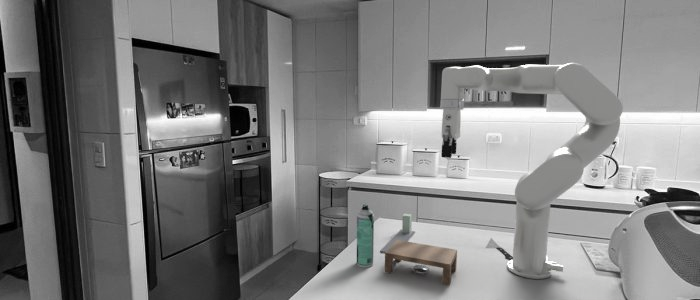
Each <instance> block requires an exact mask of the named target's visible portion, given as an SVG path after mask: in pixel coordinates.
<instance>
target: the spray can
mask: <svg viewBox="0 0 700 300" xmlns="http://www.w3.org/2000/svg"><path fill="white" fill-rule="evenodd" d="M356 213H357V214H356V265H357V266H358V267H360V268H371V267H373V266H374V238H375V237H374V231H375V229H374V226H375V225H374V224H375V221H374V220H375V217H374V216H375V215H374V212H373V211H372V210H370V208H369V205H368V204H362V207H361V208H360V210H358V211H357V212H356Z"/></svg>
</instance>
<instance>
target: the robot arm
mask: <svg viewBox="0 0 700 300" xmlns="http://www.w3.org/2000/svg"><path fill="white" fill-rule="evenodd" d="M465 89H467V90H473V91H474V90H475V91H478V92H479V91H480V92H482V91H484V92H508V93H509V92H510V93H516V94H531V95H532V94H537V95H538V94H540V95H559V96H560V95H561V96H563V97H564V98H565V99H567V101H568V102H569V103H570V104H571V105H573V107H575V108H576V110H578V111H579V112H580V113H581V114H582V115H583V116H584V117H585V122H584V124H583V127H581V128H580V130H579V131H578V132H576V133H575V134H574V135H573V136H571V138H569V139H568V140H567V141H566V142H565V143H563V145H561V146H560V147H559V148H557V149H556V150H555V151H554V150H553V152H550V154H549V155H548V156H547V158H546V159H545V160H544V162H542V163H541V164H540V165H539V166H538V167H537V168H535V169H534V170H533V171H530V172H527V173H525V174H523V175H522V176H521V177H520V178H519V179H518V181H517V183H516V185H515V189H514V196H515V201H516V205H515V217H514V218H515V220H514V235H513V236H514V237H513V249H512V251H513V252H512V257H513V260H508V261H507V263H506V264H507V265H506V267H507V269H508V271H510V272H512V273H513V274H514V275H517V276H519V277H522V278H527V279H533V280H534V279H535V280H542V279H547V278H549V277H551V275H552V271H556V272H561V273H563V272H564V265H561V264H559V263H558V262H557V261H556V262H555V261H550V260H548V255H547V254H548V240H549V227H550V215H551V214H550V213H551V204H552V202H554V201H555V200H557V199H558V198H559V197H560V196H562V195H563V194H564V193H566V192H567V191H569V190H570V189H571V188H572V187H573V186H575V185H576V184H577V183H578V182H579V181H580V179H581V178H582V176H583V174H584V170H585V168H587V166H589V165H590V164H591V163H592V162H594V161H595V160H596V159H597V158H598V157H600V156H601V154H603V153H604V152H605V151H606V150H607V149H608V148H609V147H610V146H612V144H613V143H614V141H616V138H617V137H618V134H619V132H620V125H621V116H622V114H623V110H624V107H623V103H622V101H621V99H620V98H619V97H618V96H617V95H616V94H615V93H614V92H613V91H611V90H610V89H609V88H608V87H607V86H606V85H605V84H604V83H603V82H601V81H600V80H599V79H598V78H597V77H596V76H595V75H594V74H593V73H592V72H591V71H590V70H589V69H588V68H587V67H585V66H584V65H583V64H580V63H577V62H570V63H566V64H555V65H554V64H552V65H551V64H547V65H546V64H525V65H524V64H523V65H519V66H516V67H508V68H507V67H506V68H505V67H504V68H497V67H496V68H493V67H492V68H489V67H488V68H487V67H483V66H481V65H471V66H470V65H469V66H465V67H461V66H449V67H445V68H443V70H442V73H441V89H440V91H441V92H440V105H439V109H440V110H442V121H441V138H442V143H441V152H440V153H441V155H440V156H441V158H445V159H446V158H447V159H451V158H452V157H453V156H452V155H456V154H457V145H458V144H457V140H458V139H460V137H461V122H462V121H461V120H462V119H461V118H462V117H461V115H462V114H461V110H464V107H465V106H464V103H465Z"/></svg>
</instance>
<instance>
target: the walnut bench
mask: <svg viewBox="0 0 700 300" xmlns="http://www.w3.org/2000/svg"><path fill="white" fill-rule="evenodd" d="M457 256H458V249H454V248H448V247H443V246H442V247H441V246H436V245H432V244H431V245H430V244H423V243H417V242H412V241H408V242H406V241H400V240H396V241H395V243H394V244H393V245H392V246H391V247H390V248H389V249H388V250H387V251H386V252H385V253H384V273H386V274H389V275H390V274H392V273H393V271H394V261H396V262H402V261H403V262H409V263H415V264H418V265H424V266H428V267H430V266H431V267H435V268H441V269H442V285H444V286H450V285H451V281H452V272H456V271H457V262H458V261H457V259H458V257H457Z"/></svg>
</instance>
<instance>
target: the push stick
mask: <svg viewBox="0 0 700 300" xmlns="http://www.w3.org/2000/svg"><path fill="white" fill-rule="evenodd" d="M412 218H413V215H412V214H411V213H403V214H402V225H401V226H402V228H401V229H399V231H398V232H397V233H396V234H395V235H394V236H393V237H391V239H389V241H388V242H387V243H386V244H385V245H384V246H383V247H382V248H381V249H380V251H379V252H380V253H383V254H385V252H386V251H387V250H388V249H389V248H390V247H391V246H392V245H393V244H394V243H395V241H396V240H400V241H406V242H409V241H410V239H411V238H412V237H413V236H414V234H415V233H416V231H414V230H413V229H412V228H413V227H412V225H413V223H412V221H413V219H412Z"/></svg>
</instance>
